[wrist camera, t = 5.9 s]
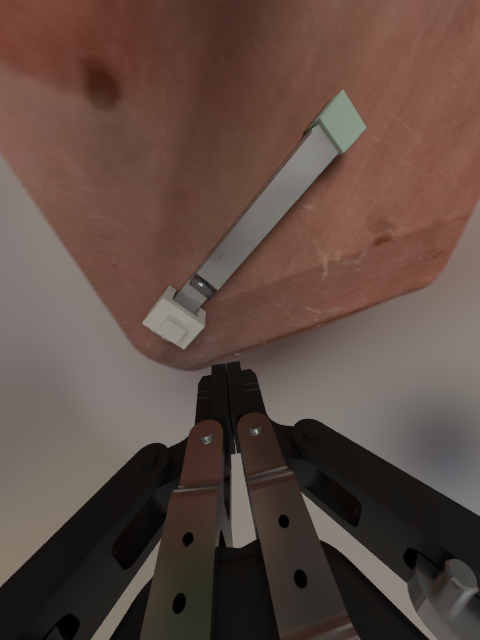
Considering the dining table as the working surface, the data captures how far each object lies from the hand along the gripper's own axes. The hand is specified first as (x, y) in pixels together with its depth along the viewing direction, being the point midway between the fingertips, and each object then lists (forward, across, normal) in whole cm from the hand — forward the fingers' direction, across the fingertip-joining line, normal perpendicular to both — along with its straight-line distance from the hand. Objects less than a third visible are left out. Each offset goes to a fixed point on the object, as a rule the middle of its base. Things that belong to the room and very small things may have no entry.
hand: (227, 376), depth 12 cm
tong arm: (+16, -6, -8) cm, 19 cm away
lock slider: (+18, +6, +3) cm, 19 cm away
